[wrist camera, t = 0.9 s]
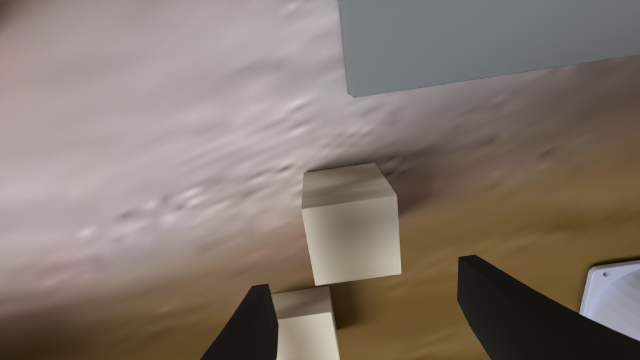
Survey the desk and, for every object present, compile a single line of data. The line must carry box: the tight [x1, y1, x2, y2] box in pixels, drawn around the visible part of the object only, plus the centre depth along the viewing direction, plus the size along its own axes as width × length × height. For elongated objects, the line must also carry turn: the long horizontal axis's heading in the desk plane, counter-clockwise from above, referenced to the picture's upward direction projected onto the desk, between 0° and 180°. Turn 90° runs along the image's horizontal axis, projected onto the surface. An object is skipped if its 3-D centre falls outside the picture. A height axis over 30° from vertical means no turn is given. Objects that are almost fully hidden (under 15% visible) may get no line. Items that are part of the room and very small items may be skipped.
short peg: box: [271, 286, 340, 360], centre depth 21 cm, size 4×4×2 cm
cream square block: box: [302, 163, 401, 285], centre depth 17 cm, size 4×4×5 cm
